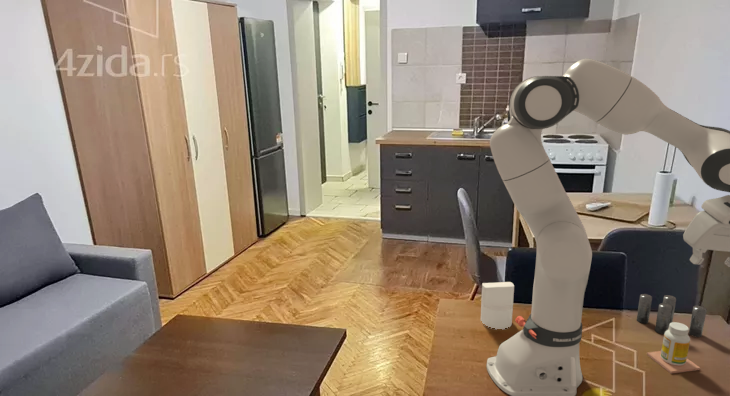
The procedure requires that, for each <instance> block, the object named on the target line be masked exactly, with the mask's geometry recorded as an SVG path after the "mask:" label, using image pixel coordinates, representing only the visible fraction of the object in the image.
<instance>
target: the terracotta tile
mask: <svg viewBox="0 0 730 396" xmlns="http://www.w3.org/2000/svg"><path fill="white" fill-rule="evenodd" d="M646 356H647V357H649V358H650V359H652V361H654V362H655V363H657V364H658V365H659V366H661V367H662V368H663V369H664V370H665V371H667V372H668V373H669V374H678V373H679V374H680V373H685V372H693V371H700V370H701V367H700V366H699V365H697V364H696V363H694V362H693V361H691V360H690V359H689V358H687V359H686V363H685V364H684V365H682V366H677V365H672V364H669V363H667V362H665V361H664V360H663V359H662V358H661V350H657V351H656V350H655V351H649V352H646Z"/></svg>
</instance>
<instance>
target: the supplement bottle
mask: <svg viewBox="0 0 730 396" xmlns="http://www.w3.org/2000/svg"><path fill="white" fill-rule="evenodd" d="M689 328H690V327H688V326H687V325H686V324H684V323H682V322H678V321H677V322H675V321H673V322H672V323H670V324H669V327H668V330H666V331H665V333H664V334H663V340H662V344H661V350H660V351H661V358H662V359H663V360H664V361H665V362H667V363H669V364H672V365H677V366H682V365H684V364H685V363H686V359H688V354H689V348H690V342H691V337H690V336H689Z"/></svg>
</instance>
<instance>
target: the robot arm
mask: <svg viewBox="0 0 730 396" xmlns="http://www.w3.org/2000/svg"><path fill="white" fill-rule="evenodd" d="M508 100H509V101H508V102H509V103H508V113H507V122H505V124H502V125H501V126H500V127H498V128H497V129H496V130H495V131H493V133H492V134H491V137H490V139H489V148H490V151H491V155H492V158H493V162H494V164H495V166H496V169H497V172H498V174H499V175H500V178H501V180H502V182H503V184H504V186H505V188H506V190H507V192H508V194H509V197H510V198H511V200H512V202H513V204H514V207H515V208H516V210H517V212H518V213H519V214H520V215H521V217H522V218H523V220H524V221H525V223H526V224H527V226H528V227H529V229H530V231H531V233H532V236H533V238H534V239H535V242H536V243H535V244H536V257H535V269H534V279H533V285H532V286H533V287H532V299H531V300H532V301H531V313H530V314H529V315H528V317H527V319H525V318H524V317H523V316H522V315H518V316H517V317H515V319H514V320H515V322H516V324H517V325H518V326H519V327H523V328H522V329H521V330H519V331H518V332H517V333H515V334H514V335H512V336H511V337H509V338H508V339H507V340H505V341H503V342H501V344H499V347H498V349H497V352H496V355H495V356H491V357H488V358H487V360H486V371H487V373H488V375H489V376H490V378H491V380H492V381H493V382H494V384H495V385H496V386H497V387H498V388H499V389H501V390H502V391H503V392H504V393H506V394H507V395H509V396H577V388H578V387H579V386H580V385H581V384H582V382H583V374H582V370H581V369H582V368H581V362H580V342H581V341H582V339H583V338H582V337H583V336H582V335H583V322H582V316H583V308H584V307H583V306H584V298H585V292H586V288H587V285H588V280H589V276H590V271H591V264H592V258H593V250H592V247H591V243H590V241H589V238H588V234H587V232H586V228H585V226H584V224H583V222H582V220H581V218H580V217H579V215H578V213H577V211H576V209H575V206H574V205H573V203H572V201H571V199H570V198H569V196H568V193H567V192H566V190H565V188H564V186H563V184H562V182H561V179H560V178H559V175H558V173H557V172H556V169H555V167H554V166H553V163H552V161H551V159H550V157H549V155H548V153H547V152H546V151H547V150H546V149H545V147H544V145H543V142H542V132H543V130H545V129H548V128H552V127H554V126H555V125H557V124H559V123H560V122H561V121H562V120H563V119H565V118H566V117H567V116H568V115H570V114H571V113H572V112H577V113H580V114H582V115H584V116H585V117H587V118H589V119H591V120H592V121H593V122H594V123H596V124H598V125H600V126H602V127H603V128H605V129H608V130H611V131H612V132H616V133H617V134H621V135H625V136H626V135H627V136H628V135H633V134H637V133H639V132H645V133H648V134H651V135H652V136H655V137H657V138H658V139H660V140H662V141H663V142H665V143H667V144H669V145H671V146H672V147H674V148H677V150H678V151H680V152H681V153H682V155H683V157H684V159H685V160H686V161H687V163H688V164H689V165H690V166H691V167H692V168H693V169H694V171H695V172H696V174H697V175H698V177H699V178H700V180H702V182H703V183H704V184H705V185H707V186H708V187H710V188H712V189H714V190H716V191H721V192H726V193H730V129H729V130H728V129H727V128H723V127H718V126H709V125H702V124H699V123H697V122H695V121H693V120H692V119H689V118H688V117H685V116H684V115H682V114H680V113H679V112H676V111H675V110H672V109H671V108H669V107H668V106H667V105H665V103H663V101H662V100H661V98H660V97H659V96H658V94H656V92H654V91H653V90H652V89H651V88H650V87H648V86H647V85H646V84H644V83H643V82H641V81H640V80H639V79H637V78H635V77H634V76H632V75H631V74H628V73H626V71H623V70H621V69H619V68H617V67H615V66H612V65H609V64H607V63H604V62H602V61H599V60H596V59H592V58H582V59H580V60H578V61H576V62H574V63H573V64H572V65H570V66H568V68H567V69H566V70H565V72H564V74H563V75H537V76H531V77H528V78H526V79H524V80H522V81H521V82H519V84H517V86H516V87H515V88H514V89H513V90H512V92H511V94H510V97H509V99H508ZM701 209H702V210H701V211H700V212H697V213H696V214H695V216H694V217H693V219H692V220H691V221H690V223H689V224H688V225H687V227H686V228H685V230H684V233H683V234H682V236H683V238H682V239H683V241H684V242H685V243H687V244H688V245H689V246H690V247H691V248H692V254H691V256H690V258H689V261H690V263H692V264H693V265H702V263H703V262H704V260H705V258H704V257H703V253H704V254H705V253H706V252H707V251H709V250H710V251H717V252H718V251H719V252H728V253H730V194H727V195H724V196H719V197H716V198H710V199H706V200H704V201H703V202H702V204H701ZM724 265H725V266H727V267H728V268H730V256H727V258H726V260H724Z"/></svg>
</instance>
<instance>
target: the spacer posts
mask: <svg viewBox="0 0 730 396" xmlns="http://www.w3.org/2000/svg"><path fill="white" fill-rule="evenodd" d="M662 299H663V300H662V303H659V304H658V309H657V313H656V315H657V316H656V319H655V321H656V322H655V327H654V332H656V333H657V334H660V335H664V333H665V331H666V330H669V324H670V323H672V322H674V314H675V310H676V309H675V308H676V302H677V298H676V297H675V296H673V295H668V294H664V296H663V298H662ZM652 301H653V296H652V295H650V294H647V293H642V294H640V295H639V301H638V307H637V308H638V309H637V314H636V321H637V323H640V324H645V325H646V324H649V323H650V322H649V321H650V314H651V308H652V307H651V306H652ZM706 316H707V308H706V307H704V306H700V305H693V306H692V312H691V317H690V318H691V319H690V322H689V323H690V324H689V327H688V328H689V331H688V335H690V336H692V337H695V338H701V337H703V331H704V325H705V322H706Z"/></svg>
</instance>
